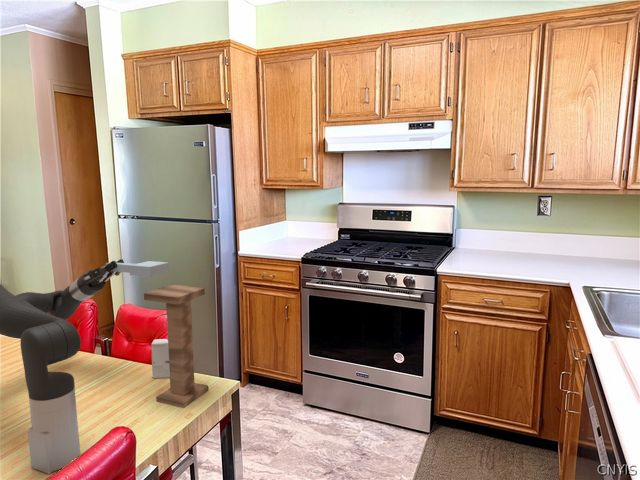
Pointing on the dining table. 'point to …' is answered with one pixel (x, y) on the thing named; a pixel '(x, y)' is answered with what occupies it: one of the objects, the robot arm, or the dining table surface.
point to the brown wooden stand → (179, 343)
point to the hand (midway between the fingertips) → (119, 262)
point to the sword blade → (143, 268)
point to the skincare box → (160, 359)
